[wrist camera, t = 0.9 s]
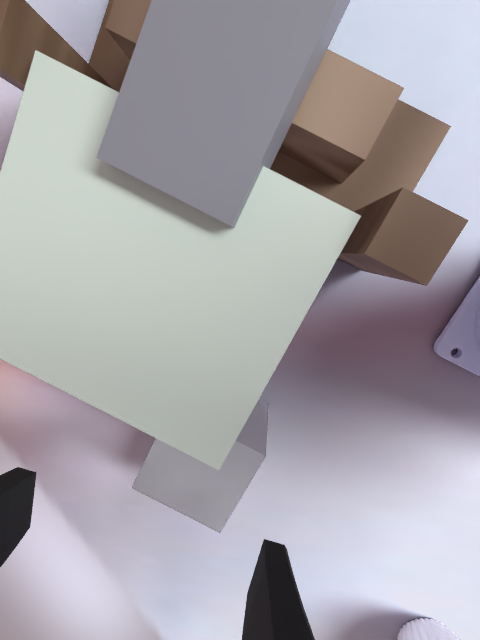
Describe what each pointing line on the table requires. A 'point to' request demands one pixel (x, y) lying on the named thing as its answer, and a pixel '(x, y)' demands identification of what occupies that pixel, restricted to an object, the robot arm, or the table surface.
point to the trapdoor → (168, 220)
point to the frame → (300, 139)
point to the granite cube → (205, 474)
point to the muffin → (425, 631)
